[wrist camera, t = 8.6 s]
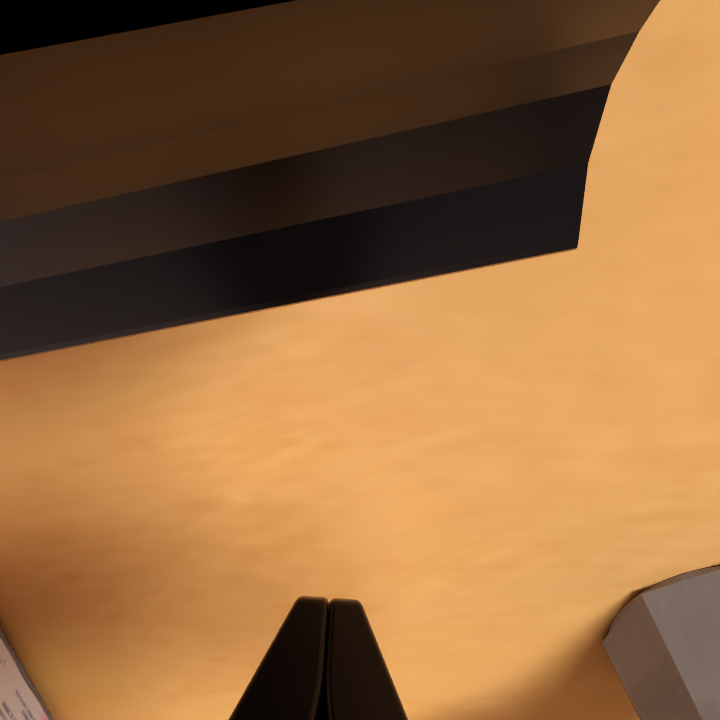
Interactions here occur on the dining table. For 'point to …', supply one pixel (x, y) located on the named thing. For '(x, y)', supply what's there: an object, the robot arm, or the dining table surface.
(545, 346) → the dining table surface
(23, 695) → the gum box
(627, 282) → the dining table surface
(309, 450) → the dining table surface
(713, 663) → the coffeepot
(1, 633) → the mat
